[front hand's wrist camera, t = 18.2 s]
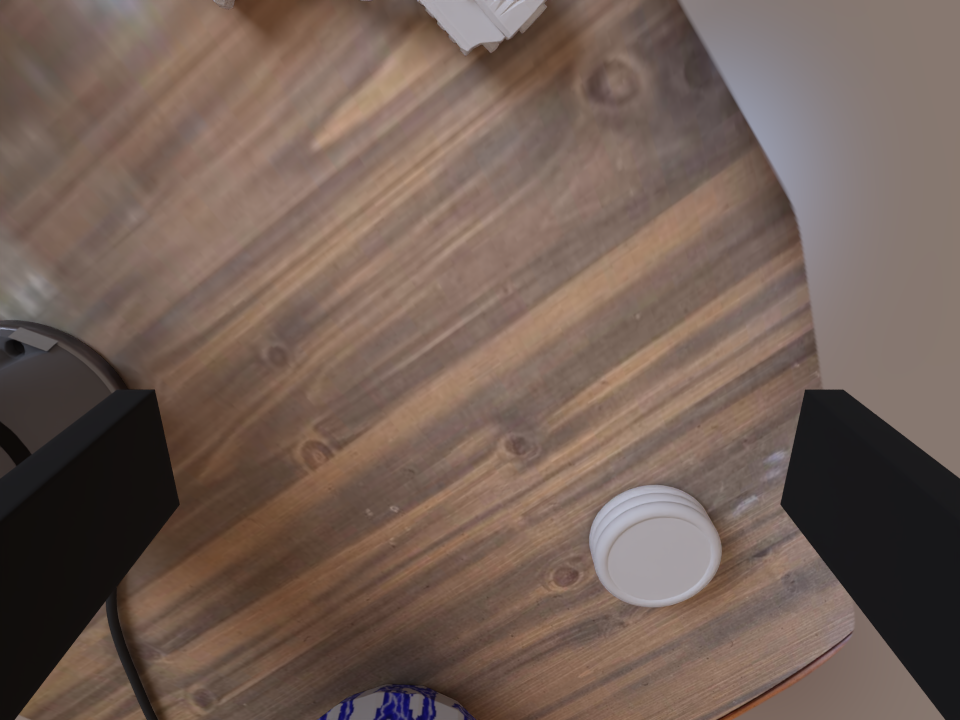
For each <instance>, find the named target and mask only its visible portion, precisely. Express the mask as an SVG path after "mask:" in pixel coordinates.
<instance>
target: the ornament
mask: <svg viewBox="0 0 960 720" xmlns="http://www.w3.org/2000/svg"><path fill="white" fill-rule="evenodd" d="M318 720H476V719H475V718H474V717H473V716H472V715H471V714H470V713H469V712H468V711H467V710H466V709H465V708H464V707H463V706H462V705H461V704H460V703H459V702H458V701H456V700H454V699H452V698H449V697H447V696H445V695H443V694H441V693H438V692H436V691H434V690H432V689H430V688H427V687H425V686H419V685H397V684H385V685H382V686H379V687H376V688H373V689H370V690H367V691H364V692H361V693H357V694H354V695H351V696H349V697H347V698H346V699H345V700H343V701H342V702H340V703H339V704H338V705H336V706H335V707H334V708H332V709H331V710H330V711H328V712H327V713H326V714H324V715H323V716H322V717H320V718H319V719H318Z"/></svg>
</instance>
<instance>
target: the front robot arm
mask: <svg viewBox="0 0 960 720" xmlns="http://www.w3.org/2000/svg"><path fill="white" fill-rule="evenodd" d="M179 505H180V504H179V499H178V495H177V490H176V485H175V481H174V476H173V472H172V467H171V462H170V458H169V453H168V448H167V444H166V439H165V435H164V430H163V425H162V421H161V416H160V411H159V407H158V402H157V398H156V393H155V390H128V389H127V387H126V385H125V384H124V382H123V381H122V379H121V378H120V376H119V375H118V374H117V373H116V371H115V370H114V369H113V368H112V367H111V366H110V365H109V364H108V362H107V361H106V360H104V359H103V358H102V357H101V356H100V355H99V354H98V353H96V352H95V351H94V350H93V349H91V348H90V347H89V346H87V345H86V344H84V343H83V342H81V341H79V340H78V339H76V338H74V337H72V336H70V335H68V334H66V333H64V332H62V331H60V330H57V329H54V328H52V327H49V326H45V325H42V324H38V323H33V322H27V321H18V320H4V321H0V720H15V719H16V717H17V716H18V715H19V713H20V712H21V711H22V709H23V708H24V707H25V706H26V704H27V703H28V702H29V700H30V699H31V698H32V696H33V695H34V694H35V693H36V691H37V690H38V689H39V687H40V686H41V685H42V683H43V682H44V681H45V679H46V678H47V677H48V676H49V674H50V673H51V672H52V670H53V669H54V668H55V666H56V665H57V664H58V663H59V661H60V660H61V659H62V657H63V656H64V655H65V653H66V652H67V651H68V649H69V648H70V647H71V646H72V644H73V643H74V642H75V640H76V639H77V638H78V636H79V635H80V634H81V632H82V631H83V630H84V629H85V627H86V626H87V625H88V623H89V622H90V621H91V619H92V618H93V617H94V616H95V614H96V613H97V612H98V610H99V609H100V608H101V606H102V605H103V604H104V602H105V601H106V611H107V618H108V623H109V627H110V631H111V634H112V638H113V641H114V644H115V647H116V649H117V652H118V655H119V657H120V660H121V662H122V665H123V667H124V669H125V672H126V674H127V676H128V679H129V681H130V683H131V686H132V688H133V690H134V693H135V695H136V697H137V700H138V702H139V704H140V706H141V709H142V711H143V713H144V715H145V717H146V719H147V720H158V719H157V717H156V715H155V713H154V711H153V709H152V706H151V704H150V702H149V700H148V698H147V695H146V693H145V690H144V688H143V686H142V683H141V681H140V678H139V676H138V674H137V671H136V669H135V667H134V664H133V662H132V659H131V657H130V654H129V652H128V649H127V646H126V644H125V641H124V638H123V634H122V631H121V627H120V623H119V619H118V613H117V602H116V587H117V586H118V584H119V583H120V582H121V580H122V579H123V578H124V576H125V575H126V574H127V572H128V571H129V570H130V569H131V567H132V566H133V565H134V563H135V562H136V561H137V559H138V558H139V557H140V556H141V554H142V553H143V552H144V550H145V549H146V548H147V546H148V545H149V544H150V542H151V541H152V540H153V539H154V537H155V536H156V535H157V533H158V532H159V531H160V529H161V528H162V527H163V526H164V524H165V523H166V522H167V520H168V519H169V518H170V516H171V515H172V514H173V512H174V511H175V510H176V509H177V507H178V506H179ZM780 505H781V506H782V507H783V509H784V510H785V511H786V512H787V514H788V515H789V516H790V518H791V519H792V520H793V522H794V523H795V524H796V526H797V527H798V528H799V529H800V531H801V532H802V533H803V535H804V536H805V537H806V539H807V540H808V541H809V542H810V544H811V545H812V546H813V548H814V549H815V550H816V552H817V553H818V554H819V556H820V557H821V558H822V559H823V561H824V562H825V563H826V565H827V566H828V567H829V569H830V570H831V571H832V572H833V574H834V575H835V576H836V578H837V579H838V580H839V582H840V583H841V584H842V586H843V587H844V588H845V589H846V591H847V592H848V593H849V595H850V596H851V597H852V599H853V600H854V601H855V602H856V604H857V605H858V606H859V608H860V609H861V610H862V612H863V613H864V614H865V616H866V617H867V618H868V619H869V621H870V622H871V623H872V625H873V626H874V627H875V629H876V630H877V631H878V632H879V634H880V635H881V636H882V638H883V639H884V640H885V641H886V643H887V644H888V646H889V647H890V648H891V649H892V651H893V652H894V653H895V655H896V656H897V657H898V659H899V660H900V661H901V663H902V664H903V665H904V666H905V668H906V669H907V670H908V672H909V673H910V674H911V676H912V677H913V678H914V679H915V681H916V682H917V683H918V685H919V686H920V687H921V689H922V690H923V691H924V692H925V694H926V695H927V696H928V698H929V699H930V700H931V702H932V703H933V704H934V705H935V707H936V708H937V709H938V711H939V712H940V713H941V715H942V716H943V717H944V719H945V720H960V478H958V477H957V476H956V475H954V474H953V473H952V472H950V471H949V470H948V469H946V468H945V467H944V466H943V465H941V464H940V463H939V462H937V461H936V460H935V459H933V458H932V457H931V456H929V455H928V454H927V453H926V452H924V451H923V450H922V449H920V448H919V447H918V446H916V445H915V444H914V443H912V442H911V441H910V440H908V439H907V438H906V437H905V436H903V435H902V434H901V433H899V432H898V431H897V430H895V429H894V428H893V427H891V426H890V425H889V424H888V423H886V422H885V421H884V420H882V419H881V418H880V417H878V416H877V415H876V414H874V413H873V412H872V411H870V410H869V409H868V408H866V407H865V406H864V405H863V404H861V403H860V402H859V401H857V400H856V399H855V398H853V397H852V396H851V395H849V394H848V393H847V392H846V391H844V390H805V393H804V398H803V402H802V407H801V411H800V416H799V421H798V425H797V430H796V435H795V439H794V444H793V448H792V453H791V458H790V462H789V467H788V472H787V476H786V481H785V485H784V490H783V495H782V499H781V504H780Z"/></svg>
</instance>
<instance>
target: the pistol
mask: <svg viewBox="0 0 960 720" xmlns="http://www.w3.org/2000/svg"><path fill="white" fill-rule="evenodd" d="M213 1H214V2H215V3H216V4H217V5H218V6H219V7H221V8H225V9H228V10H229V9H233V6H234V1H235V0H213ZM360 1H372V0H360ZM417 1H418V2H419V3H420V4H421V5H424V6H425V7H426V11H427V12H428V14H429V15H430V16H431V17H432V18H435V19H436V20H437V21H438V22H437V24H438V25H439V26H440V27H441V29H443V31H444V30H446V32H447V33H448V34H449V36H448V37H449V38H450V39H451V40H452V41H453V42H454V43H457V44H458V45H459V47H460V50H461V52H462V53H463V54H464V55H465V56H467V55H468V54H469V53H470V52H471V51H472V50H473V49H474V48H476V47H478V46H480V45H483V46H484V47H485V48H486V49H487V50H488V51H489V52H490V53H492V52H493V51H495V50H496V49H497V47H498V45H499V43H501V42H502V41H503V40H504V39H506V40H509V39H511V38H512V37H513V36H514V35H515V34H516V33H517V32H518V31H520V32H521V33H524V32H525V31H526V30H527V29H528V28H529V27H530V26H531V25H532V24H533V23H534V22H535V20H536V19H537V18H538V17H539V16H540V15H541V14H542V13H543V11H544V10H545V9H546V8H547V6H546V5H545V2H546V1H547V0H417Z"/></svg>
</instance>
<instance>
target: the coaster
mask: <svg viewBox="0 0 960 720" xmlns="http://www.w3.org/2000/svg"><path fill="white" fill-rule="evenodd" d="M589 546H590V551H591V554H592V559H593V562H594V567H595V570H596V574H597V576H598V578H599V580H600V581H601V583H602V584H603V586H604V587H605V588H606V589H607V590H608V591H609V592H610V593H611V594H612V595H614V596H615V597H617V598H618V599H620V600H622V601H624V602H626V603H629V604H632V605H636V606H641V607H664V606H670V605H673V604H677V603H680V602H682V601H685V600H687V599H689V598H691V597H692V596H694V595H696V594H697V593H698V592H700V591H701V590H702V589H703V588H704V587H705V586H706V585H707V584H708V583H709V582H710V581H711V580H712V578H713V577H714V575H715V574H716V572H717V570H718V568H719V565H720V562H721V556H722V546H721V540H720V537H719V534H718V531H717V530H716V528H715V526H714V525H713V523H712V521H711V519H710V517H709V516H708V514H707V512H706V510H705V509H704V507H703V506H702V505H701V504H700V503H699V502H698V501H697V500H696V499H695V498H694V497H692V496H691V495H689V494H688V493H686V492H684V491H682V490H680V489H677V488H674V487H670V486H664V485H645V486H640V487H636V488H632V489H630V490H627V491H625V492H623V493H621V494H619V495H617V496H616V497H614V498H613V499H611V500H610V501H609V502H608V503H607V504H605V506H604V507H603V508H602V509H601V510H600V511H599V513H598V514H597V516H596V517H595V519H594V521H593V524H592V526H591V531H590V535H589Z"/></svg>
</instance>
